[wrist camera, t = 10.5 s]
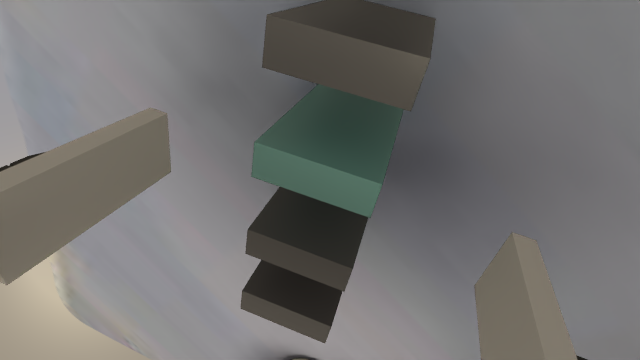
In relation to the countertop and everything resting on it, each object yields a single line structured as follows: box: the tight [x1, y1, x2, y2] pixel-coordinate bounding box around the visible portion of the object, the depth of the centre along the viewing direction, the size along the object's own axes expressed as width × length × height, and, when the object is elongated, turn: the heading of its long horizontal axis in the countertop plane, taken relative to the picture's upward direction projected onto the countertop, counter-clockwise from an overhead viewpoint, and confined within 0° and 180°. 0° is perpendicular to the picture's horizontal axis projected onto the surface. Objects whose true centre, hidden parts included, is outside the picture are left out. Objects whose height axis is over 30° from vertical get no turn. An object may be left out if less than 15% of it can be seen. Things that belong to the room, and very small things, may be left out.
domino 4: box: [241, 260, 342, 343], centre depth 22 cm, size 2×5×10 cm, turn 79°
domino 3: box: [246, 187, 368, 291], centre depth 19 cm, size 2×5×10 cm, turn 79°
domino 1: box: [262, 0, 436, 111], centre depth 14 cm, size 2×5×10 cm, turn 79°
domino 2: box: [251, 84, 404, 218], centre depth 17 cm, size 2×5×10 cm, turn 79°
